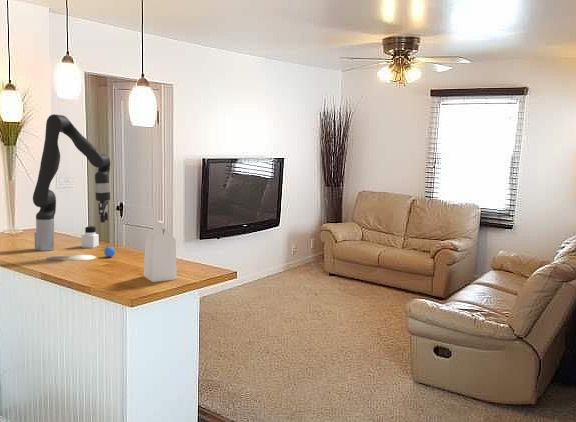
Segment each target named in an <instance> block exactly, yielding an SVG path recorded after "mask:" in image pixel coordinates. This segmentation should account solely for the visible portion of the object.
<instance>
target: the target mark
mask: <svg viewBox="0 0 576 422" xmlns="http://www.w3.org/2000/svg"><path fill="white" fill-rule="evenodd" d="M94 259H97V256H95V255H91V254H76V255H71V256H68V257H67V259H66V260H69V261H74V262H75V261H76V262H77V261H82V262H84V261H91V260H94Z"/></svg>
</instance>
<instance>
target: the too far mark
mask: <svg viewBox="0 0 576 422" xmlns="http://www.w3.org/2000/svg"><path fill="white" fill-rule="evenodd" d="M67 258H68V257H67V256H63V255H61V256H60V255H59V256H57V255H56V256H50V257H49V256H48V257H46V260H47V261H50V262H51V261H55V262H56V261H57V262H59V261H65V260H68V259H67Z"/></svg>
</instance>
